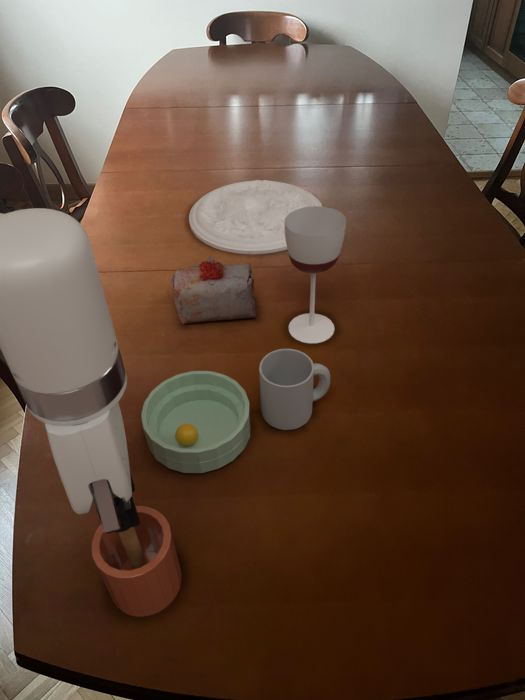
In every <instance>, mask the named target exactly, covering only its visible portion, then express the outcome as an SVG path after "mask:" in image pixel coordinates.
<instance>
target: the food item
mask: <svg viewBox="0 0 525 700" xmlns="http://www.w3.org/2000/svg"><path fill="white" fill-rule="evenodd" d="M170 284H171V290H172V292H173V299H174V303H175V309H176V312H177V316H178V318H179V320H180V322H181V324H182V325H190V324H197V323H205V322H215V321H232V320H240V319H254V318H255V319H256V318H257V314H258V313H257V305H256V303H257V301H256V298H255V286H254V285H255V279H254V277H253V270H252V264H251V263H250V262H249V263H231V264H222V263H221V262H220V261H216V260H215V259H214V257H213V256H212V255H210V256H209V257H207V259H206V260H204V261H201V262H200V264H194V265H191V266H189V267H183V268H178V269H177V270H176V271H175V273H173V274H172V275H171V278H170Z"/></svg>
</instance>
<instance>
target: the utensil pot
mask: <svg viewBox="0 0 525 700" xmlns="http://www.w3.org/2000/svg"><path fill="white" fill-rule="evenodd" d="M135 506H136V509H137V512H138V515H139V519H140V524H139V525H138V526H135V527H134V528H135V531H136V534H137V537H138V539H139V542H140V545H141V548H142V550H143V553H144V556H145V559H146V561H147V564H146V565H144V566H142V567H141V568H137V569H134V570H133V569H132V566H131V564H130V561H129V559H128V556H127V554H126V551H125V549H124V546H123V544H122V541H121V539H120V536H119V534H118V533H116V532H112V533H107V534H105V532H104V528H103V525H102V523H100V524H99V526H98V527H97V529H96V530H95V532H94V534H93V538H92V541H91V557H92V559H93V561H94V564H95V565H96V567H97V571H98V573H99V575H100V577H101V579H102V581H103V583H104V585H105V587H106V589H107V591H108V594H109V596H110V597H111V600H112V602H113V604H114V605H115V606H116V608H117V609H118V610H119V611H121V612H122V613H124V614H126V615H128V616H131V617H139V618H143V617H144V618H145V617H150V616H153V615H155V614H157V613H160V612H162V611H163V610H164V609H166V608H167V607H168V606H169V605H171V603H172V602H173V601H174V600H175V598H176V597H177V595H178V593H179V591H180V589H181V585H182V581H183V580H182V579H183V578H182V576H183V573H182V568H181V564H180V563H181V562H180V559H179V556H178V552H177V547H176V544H175V540H174V537H173V534H172V529H171V526H170V523H169V521H168V520H167V518H166V516H165V515H164V514H162V513H161V512H160V511H159V510H157V509H155V508H153V507H149V506H146V505H135Z"/></svg>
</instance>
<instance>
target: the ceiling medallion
mask: <svg viewBox="0 0 525 700" xmlns="http://www.w3.org/2000/svg"><path fill="white" fill-rule="evenodd" d="M312 206H320V207H324V206H323V204H322V203H321V201H320V200H319V199H318V198H317V197H316V196H315V195H314V194H312V193H311V192H309V191H308V190H306V189H304V188H301V187H299V186H297V185H294V184H291V183H287V182H282V181H276V180H267V179H263V180H262V179H261V180H260V179H255V180H245V181H239V182H233V183H229V184H226V185H223V186H220V187H217V188H215V189H213V190H212V191H210V192H208V193H206V194H205V195H203V196H201V197H200V198H199V199H197V201H196V202H195V203H194V204H193V206H192V207H191V209H190V211H189V214H188V222H189V228H190V230H191V232H192V233H193V235H194V236H195V237H196V238H197V239H198V240H199V241H201V242H203V243H204V244H206V245H207V246H210V247H211V248H214V249H217V250H220V251H223V252H227V253H233V254H240V255H265V254H273V253H278V252H279V253H280V252H283V251H286V250H287V251H288V249H287V244H286V238H285V218H286V216H287V215H288V214H289V213H291V212H293V211H295V210H297V209H300V208H304V207H312Z"/></svg>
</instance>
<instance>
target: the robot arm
mask: <svg viewBox="0 0 525 700" xmlns="http://www.w3.org/2000/svg"><path fill="white" fill-rule="evenodd" d="M92 246H93V245H92V244H91V240H90V238H89V235H88V233H87V231H86V229H85V228H84V227H83V226H82V225H81V223H80V222H79V221H78V220H77V219H76V218H75V217H73V216H71V215H70V214H68V213H65V212H63V211H59V210H56V209H53V208H45V207H43V208H42V207H40V208H39V207H35V208H24V209H18V210H14V211H10V212H6V213H3V212H0V351H1V354H2V355H3V358H4V360H5V362H6V364H7V367H8V369H9V370H10V373H11V375H12V377H13V379H14V381H15V384H16V386H17V388H18V390H19V392H20V395H21V397H22V399H23V402H24V403H25V405H26V408H27V410H28V412H29V413H30V414H31V415H32V416H33V417H34V418H35V419H36V420H38V421H40V422H42V423H43V424H44V426H45V432H46V435H47V440H48V443H49V447H50V450H51V454H52V458H53V460H54V463H55V466H56V469H57V472H58V475H59V478H60V480H61V483H62V485H63V488H64V490H65V493H66V497H67V499H68V501H69V504H70V506H71V509H72V511H73V512H74V513H76V514H77V515H84V514H89V513H90V510H91V508H92V504H94V507H95V510H96V511H95V512H96V513H97V516H98V518H99V521H100V522H101V523H102V525H103V528H104V532H105V534H107V533H112V532H116V533H119V532H123V531H126V530H128V529H129V528H131V527H135V526H138V525H139V524H140V519H139V515H138V512H137V509H136V506H137V505H136V503H135V500H134V498H133V493H134V492H135V491H136V487H135V481H134V479H133V476H132V473H131V468H130V458H129V451H128V444H127V437H126V436H127V435H126V430H125V424H124V419H123V415H122V410H121V406H120V403H119V402H120V400H121V399H122V398H123V396H124V394H125V392H126V389H127V385H128V376H127V371H126V368H125V365H124V364H125V363H124V361H123V358H122V353H121V350H120V345H119V342H118V338H117V335H116V332H115V328H114V325H113V320H112V316H111V313H110V310H109V306H108V302H107V298H106V295H105V291H104V287H103V284H102V279H101V276H100V273H99V272H100V271H99V268H98V265H97V262H96V258H95V254H94V250H93V247H92ZM113 495H117V497H113ZM101 523H100V524H101Z"/></svg>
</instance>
